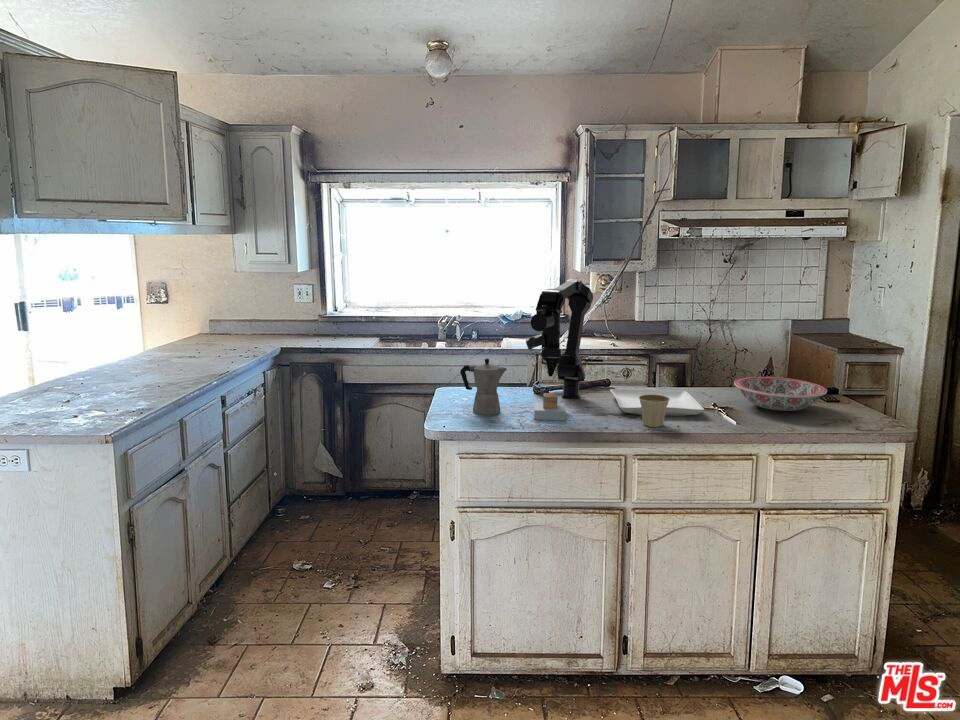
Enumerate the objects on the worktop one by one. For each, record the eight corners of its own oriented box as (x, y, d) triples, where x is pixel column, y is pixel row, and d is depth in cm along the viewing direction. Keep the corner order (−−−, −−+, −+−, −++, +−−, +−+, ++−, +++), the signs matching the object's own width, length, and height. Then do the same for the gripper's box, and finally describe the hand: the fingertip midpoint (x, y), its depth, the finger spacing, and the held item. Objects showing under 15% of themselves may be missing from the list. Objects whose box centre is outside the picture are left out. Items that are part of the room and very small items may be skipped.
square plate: (704, 420, 222) (705, 408, 221) (619, 418, 224) (620, 406, 223) (685, 399, 249) (686, 389, 248) (609, 397, 250) (609, 387, 250)
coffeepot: (506, 408, 234) (507, 356, 230) (506, 415, 224) (507, 361, 221) (461, 407, 234) (461, 355, 231) (459, 414, 225) (459, 360, 222)
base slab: (534, 411, 230) (534, 402, 229) (564, 412, 229) (564, 403, 228) (534, 419, 220) (534, 410, 219) (565, 420, 219) (565, 411, 219)
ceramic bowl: (741, 394, 255) (742, 373, 254) (828, 405, 241) (830, 382, 239) (724, 411, 231) (726, 388, 229) (820, 425, 216) (823, 400, 215)
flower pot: (646, 430, 209) (648, 402, 208) (631, 421, 218) (633, 395, 217) (674, 427, 212) (675, 400, 210) (658, 419, 221) (660, 393, 219)
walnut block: (543, 404, 226) (543, 393, 226) (556, 405, 226) (557, 393, 225) (543, 408, 222) (543, 396, 221) (557, 408, 222) (557, 396, 221)
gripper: (527, 323, 239) (526, 367, 242) (526, 331, 221) (525, 378, 224) (559, 324, 238) (558, 368, 241) (561, 332, 220) (560, 379, 223)
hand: (550, 373), depth 232 cm, fingers open, 9 cm apart
